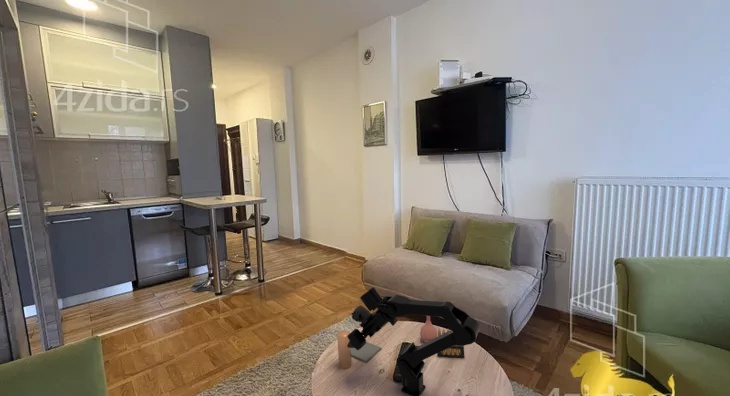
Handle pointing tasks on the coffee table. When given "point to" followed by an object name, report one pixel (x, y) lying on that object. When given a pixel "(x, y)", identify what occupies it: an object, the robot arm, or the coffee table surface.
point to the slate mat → (365, 352)
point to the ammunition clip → (453, 353)
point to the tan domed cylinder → (344, 350)
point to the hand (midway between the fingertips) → (354, 340)
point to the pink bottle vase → (428, 331)
